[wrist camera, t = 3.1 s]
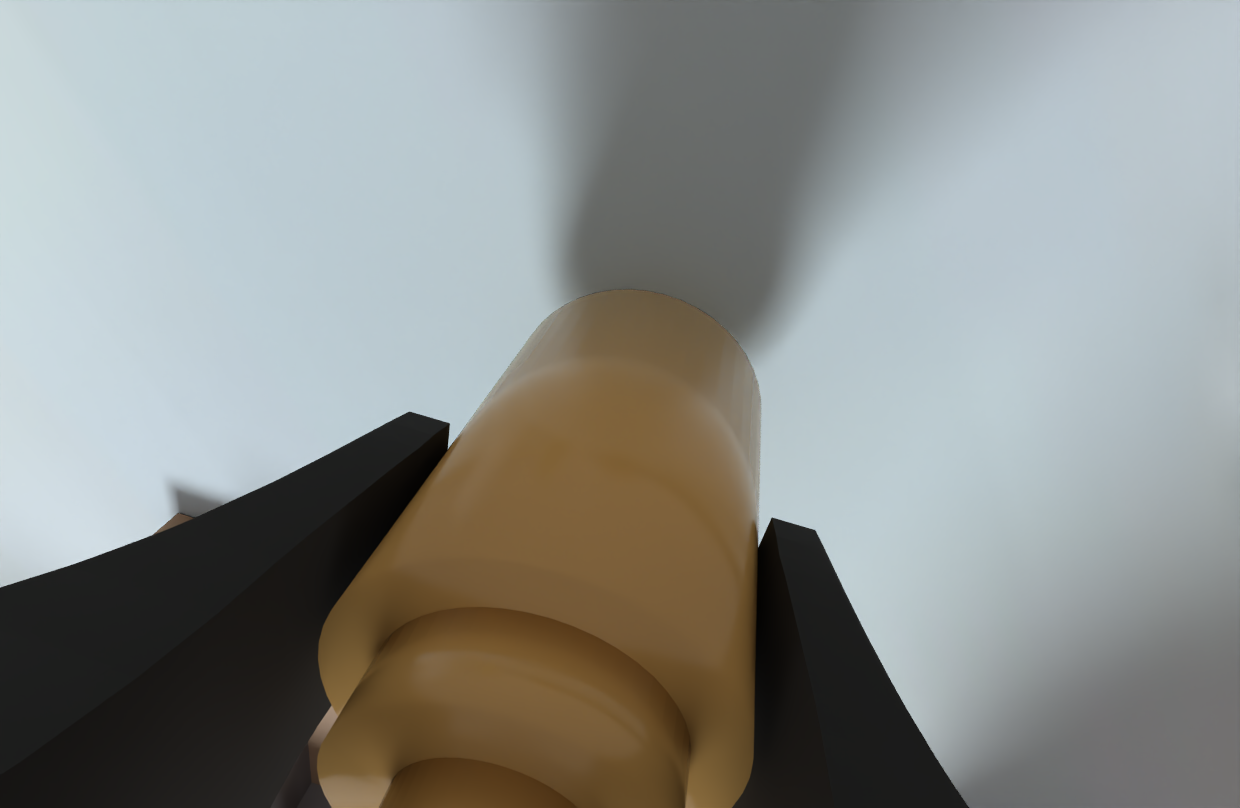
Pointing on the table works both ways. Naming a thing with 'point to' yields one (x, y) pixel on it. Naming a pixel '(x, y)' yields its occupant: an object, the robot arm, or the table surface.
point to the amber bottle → (566, 585)
